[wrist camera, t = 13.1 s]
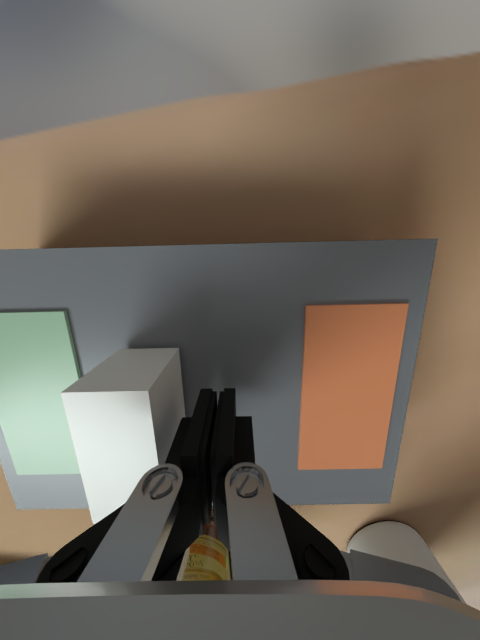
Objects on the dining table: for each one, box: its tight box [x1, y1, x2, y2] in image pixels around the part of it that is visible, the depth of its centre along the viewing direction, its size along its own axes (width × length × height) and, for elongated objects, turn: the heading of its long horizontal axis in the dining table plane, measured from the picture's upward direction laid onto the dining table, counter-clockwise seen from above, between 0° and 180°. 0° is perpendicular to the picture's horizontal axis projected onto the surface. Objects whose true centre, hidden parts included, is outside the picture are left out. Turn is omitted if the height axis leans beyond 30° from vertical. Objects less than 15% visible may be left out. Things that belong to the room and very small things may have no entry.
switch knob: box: [61, 348, 185, 524], centre depth 10 cm, size 3×6×4 cm, turn 1°
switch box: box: [0, 239, 438, 509], centre depth 15 cm, size 24×16×6 cm, turn 91°
